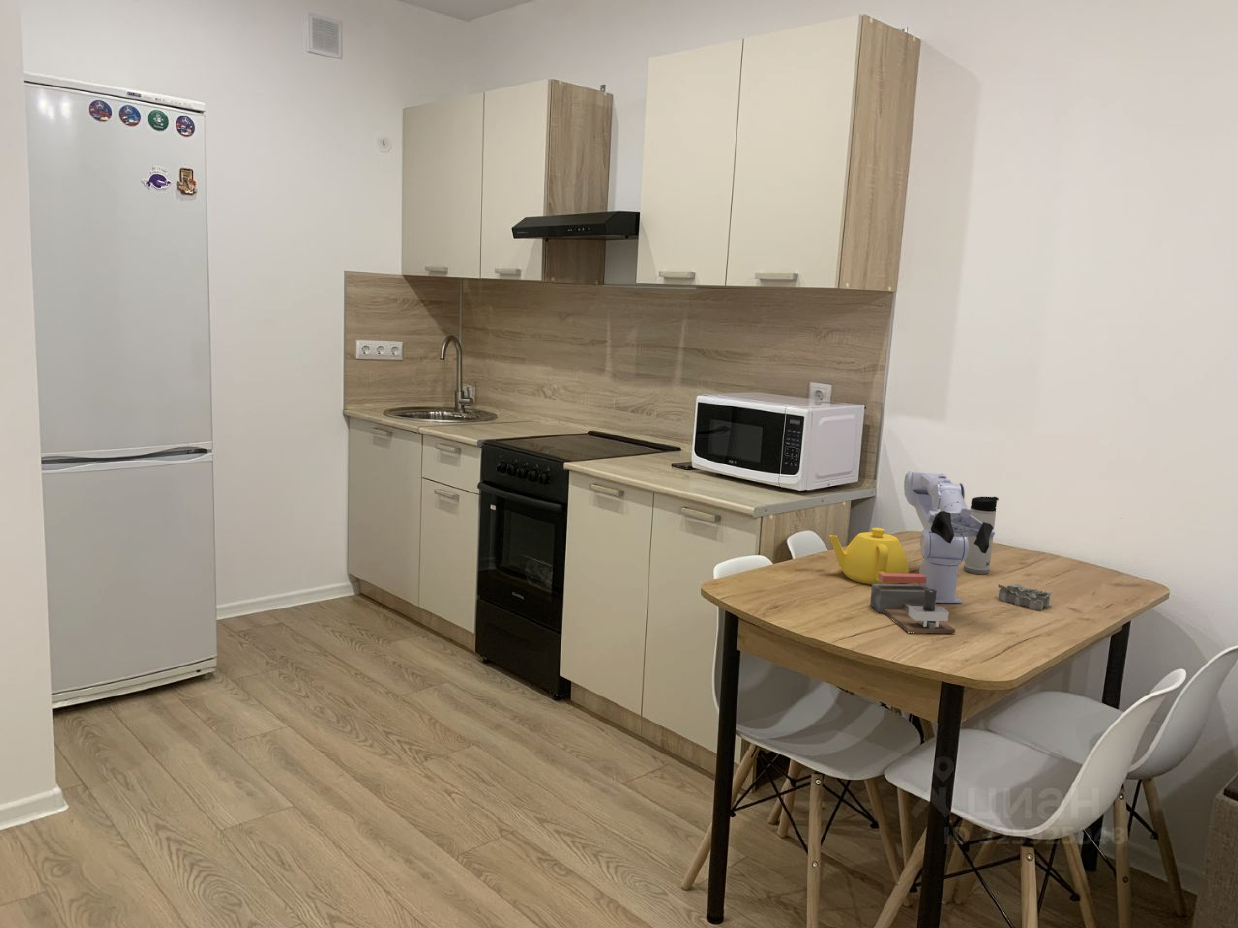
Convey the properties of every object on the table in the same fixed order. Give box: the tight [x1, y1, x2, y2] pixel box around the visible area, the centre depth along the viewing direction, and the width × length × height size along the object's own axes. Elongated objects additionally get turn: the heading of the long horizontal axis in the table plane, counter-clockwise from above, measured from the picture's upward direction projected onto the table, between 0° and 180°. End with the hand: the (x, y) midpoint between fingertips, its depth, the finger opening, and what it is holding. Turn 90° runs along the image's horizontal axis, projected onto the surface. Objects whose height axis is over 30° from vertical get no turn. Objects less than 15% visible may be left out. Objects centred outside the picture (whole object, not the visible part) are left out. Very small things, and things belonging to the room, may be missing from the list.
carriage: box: [909, 589, 950, 627], centre depth 197 cm, size 4×7×7 cm, turn 96°
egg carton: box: [997, 584, 1053, 611], centre depth 221 cm, size 11×8×4 cm
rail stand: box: [869, 583, 956, 634], centre depth 204 cm, size 19×12×5 cm, turn 6°
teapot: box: [829, 527, 910, 585], centre depth 235 cm, size 20×19×13 cm
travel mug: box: [963, 496, 1000, 575], centre depth 247 cm, size 6×7×20 cm
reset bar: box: [879, 573, 927, 584], centre depth 211 cm, size 2×10×2 cm, turn 96°
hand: (968, 544), depth 199 cm, fingers open, 7 cm apart
